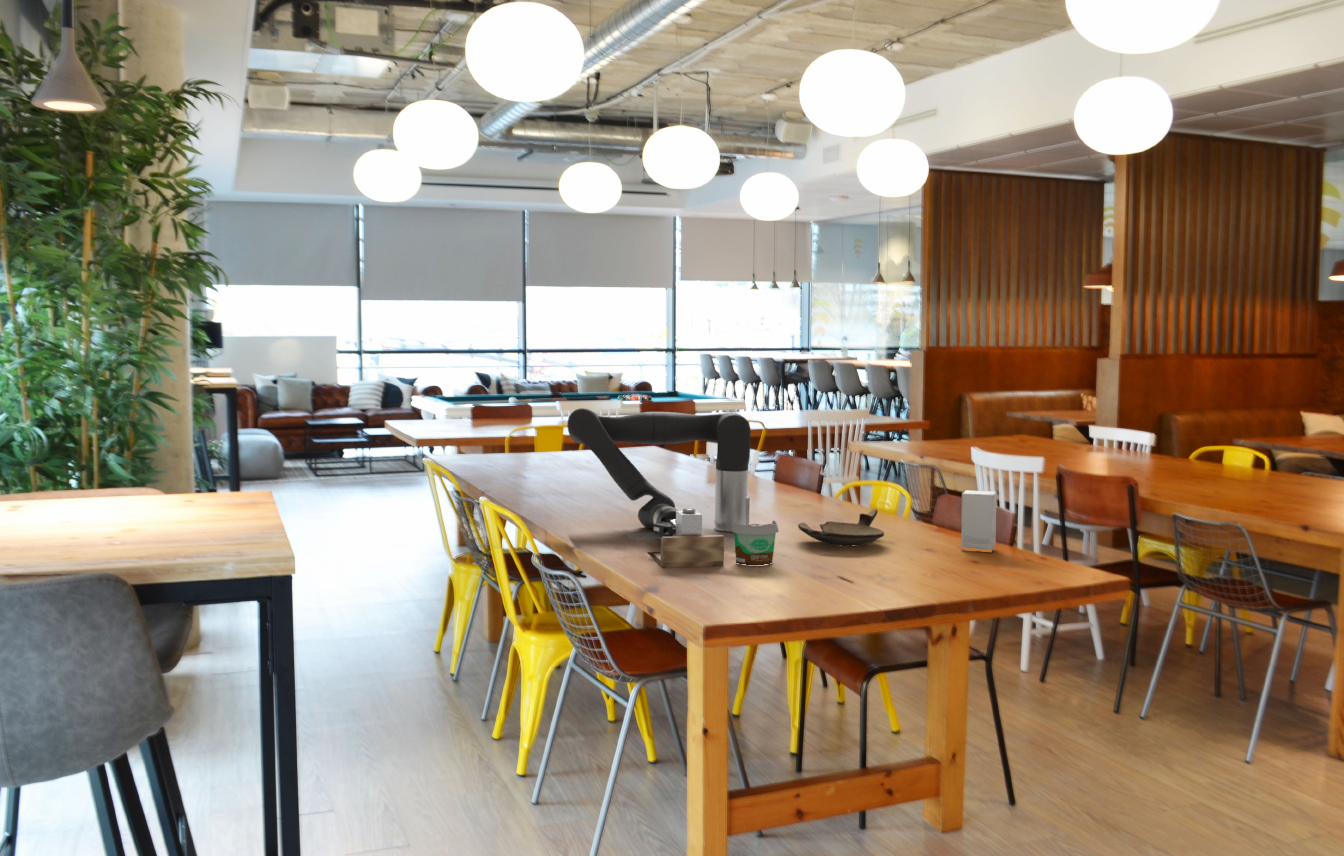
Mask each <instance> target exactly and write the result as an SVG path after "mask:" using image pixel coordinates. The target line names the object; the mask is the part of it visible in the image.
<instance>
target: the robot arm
mask: <svg viewBox="0 0 1344 856" xmlns="http://www.w3.org/2000/svg"><path fill="white" fill-rule="evenodd" d="M567 431H568V435H569V437H570V438H571V439H572V440H573V441H574V442H576V443H577V444H581V445H585V446H586V447H587V448H588V449H589V450H591V452H592V454H594V455H595V456H596V458H597V459H598V460H599V461H600V463H601V464H602V466H603V467H604V468H605V470H606V471H607V473H608V474H609V475H610V477H611V478H612V480H613V481H614V482H615V484H616V485H617V486H618V487H619V488H620V490H621V491H622V493H624V494H625V496H626V497H627V498H628V499H629V500H630V501H633V502H634V501H638V500H639V499H641V498H642V497H645V496H649V497H652V498H651V499H650V500H649V501H647V502H646V503H645V504H644V505H643V506H641V507H640V508H639V510H638V511H637V518H638V520H639V522H640V524H641V525H642V526H643V527H644V528H645V529H648V530H651V531H653V533H654V534H660V535H661V536H663V537H674V536H676V511H679V509H677V508H676V505H675V502H674V500H673V499H672V498H671V497H669V496H668V495H667V494H665V493H664V492H662V491H660V490H659V489H658V488H656V487H655V486H654V485H652V484H651V483H650V482H649V481H648V480H647V479H646V478H645V477H644V476H643V474H642V473H641V472H640V471H639V469H638V468H637V467H636V466H635V465H634V464H633V463H632V461H631V460H630V459H629V458H628V457H627V456H626V455H625V454H624V453H623V451H621V449H620V448H619V447H618V446H617V444H616V443H626V444H644V445H675V444H682V443H683V444H685V443H688V442H689V443H690V442H694V441H695V442H696V441H706V442H707V441H708V442H717V444H716V445H717V449H716V452H717V454H716V460H715V484H714V485H715V488H714V489H715V490H714V492H715V493H714V494H715V495H714V522H713V523H714V529H715V530H716V531H720V532H730V533H731V532H732V528H733V526H734V523H735V524H739V525H750V507H751V506H750V501H751V498H750V496H748V495H749V493H748V490H749V489H748V488H749V463H750V459H751V458H750V457H751V455H750V453H751V425H750V423H749V420H747V419H746V417H744V416H743V415H741V414H739V413H737V412H726V413H725V412H724V413H723V412H722V413H716V414H691V413H683V412H675V411H674V412H670V411H645V412H638V413H632V414H627V415H623V416H607V415H606V416H604V415H598V414H597V413H596V412H595V411H593V410H591V409H590V408H585V407H582V408H581V407H580V408H577V409H574V410H573V411H572V412H571V413H570V415H568V419H567ZM732 533H733V532H732Z"/></svg>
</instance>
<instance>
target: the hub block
mask: <svg viewBox="0 0 1344 856" xmlns="http://www.w3.org/2000/svg"><path fill="white" fill-rule="evenodd" d="M702 530H703V514H702V513H700V512H699V511H697V510H696V509H695V508H687V507H686V508H683V509H682V510H678V511H676V536H703V532H702Z"/></svg>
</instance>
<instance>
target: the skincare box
mask: <svg viewBox="0 0 1344 856" xmlns="http://www.w3.org/2000/svg"><path fill="white" fill-rule="evenodd" d="M996 529H997V491H991V490H990V491H989V490H987V491H985V490H972V489H970V490H969V489H968V490H967V489H965V491H964V492H962V493H961V535H960V537H961V538H960V541H961V543H960V544H961V547H966V548H977V549H989V550H993V549H994V547H995V545H996V543H997V542H996V541H997V540H996V539H997V538H996V537H997V535H996V534H997V530H996Z"/></svg>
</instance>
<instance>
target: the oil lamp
mask: <svg viewBox="0 0 1344 856" xmlns="http://www.w3.org/2000/svg"><path fill="white" fill-rule="evenodd" d="M877 514H878V509H877V508H873V509H871V510H870V511H869V512H868V513H859V518H858V523H853V522H852V523H851V522H849V523H848V522H840V521H839V522H838V521H826V522H825V523H820V524H819V527H820V530H821V531H820V530H815V529H812V528H811V527H810V526H809V525H808V524H807V523H805V522H800V523H798V525H797V527H798V529H799V530H800V531H801V532H803V533H804V534H805V535H807V536H808V537H810V538H812V539H814V540H817V541H819V542H821V543H824V544H827V545H832V546H833V545H834V546H839V545H842V546H841V547H853V546H852V545H859V546H861V545H862V546H863V545H865V544H868V543H872V542H874V541H876V540H878V539H880V538H882V537H883V538H884V536H885V533H884V531H882V529H880V528H877V527H874V526H871V525H872V523H873V521H874V520H875V518H876V516H877Z"/></svg>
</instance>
